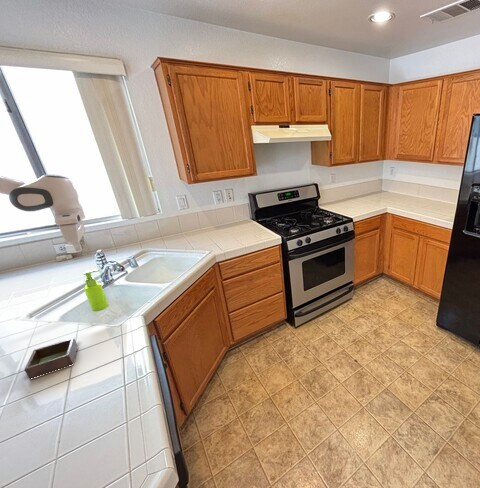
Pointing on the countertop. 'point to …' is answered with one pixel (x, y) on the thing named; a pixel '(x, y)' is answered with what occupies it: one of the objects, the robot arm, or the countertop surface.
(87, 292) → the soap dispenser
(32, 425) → the countertop surface
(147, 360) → the countertop surface
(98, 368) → the countertop surface
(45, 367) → the tray
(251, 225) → the countertop surface
